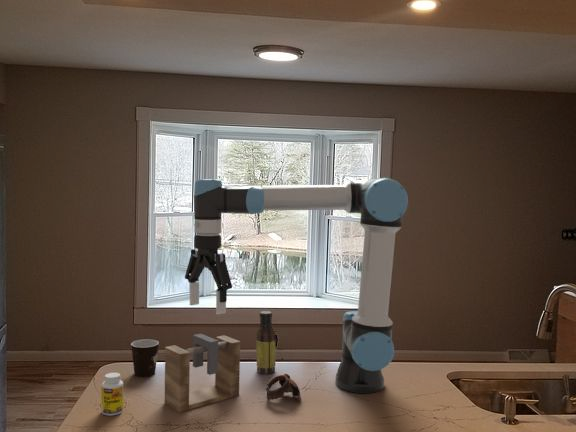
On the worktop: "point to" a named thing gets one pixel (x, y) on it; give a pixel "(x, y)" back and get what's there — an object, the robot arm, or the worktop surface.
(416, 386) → the worktop surface
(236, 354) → the rack
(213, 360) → the u piece
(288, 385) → the brown looped piece
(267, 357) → the sauce bottle
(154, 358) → the coffee mug
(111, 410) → the supplement bottle
